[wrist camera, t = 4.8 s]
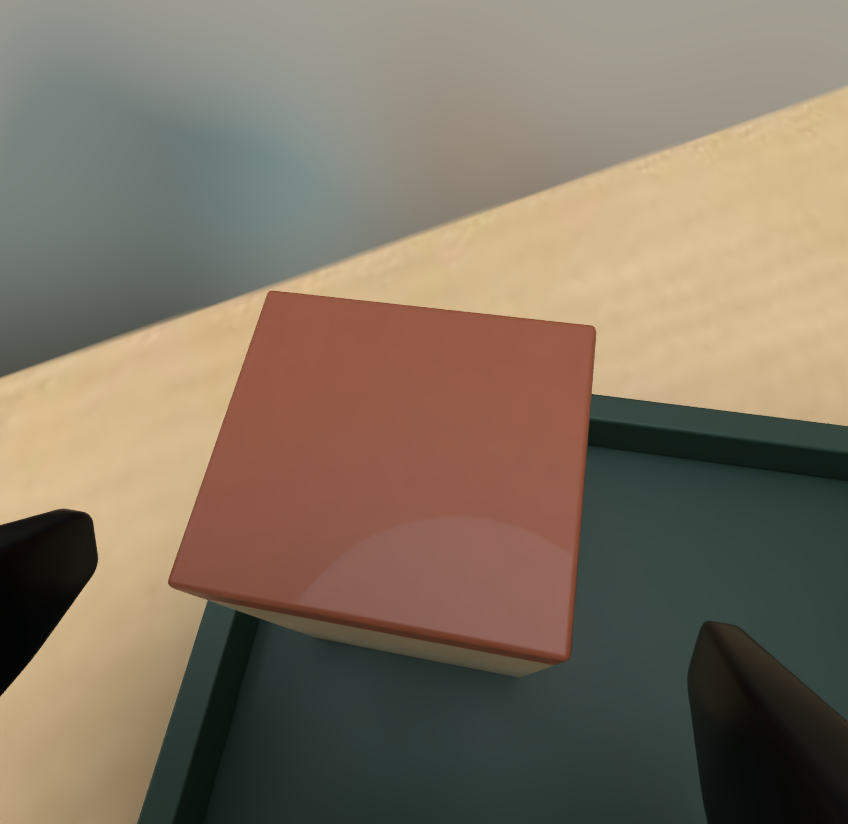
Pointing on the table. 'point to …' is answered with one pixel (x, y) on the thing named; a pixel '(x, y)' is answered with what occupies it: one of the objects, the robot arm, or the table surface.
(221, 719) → the tray
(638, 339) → the table surface
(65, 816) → the table surface
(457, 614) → the carton
